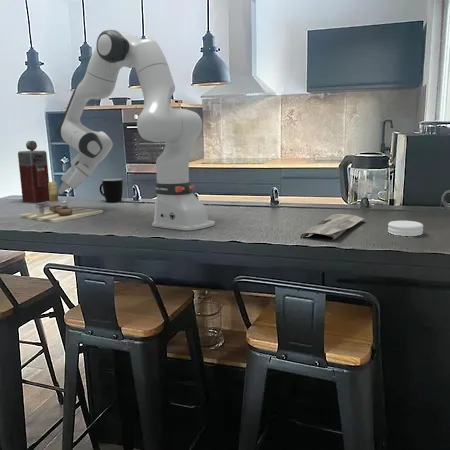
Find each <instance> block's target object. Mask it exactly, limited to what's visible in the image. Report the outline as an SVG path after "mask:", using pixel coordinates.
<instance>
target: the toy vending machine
mask: <svg viewBox="0 0 450 450" xmlns="http://www.w3.org/2000/svg"><path fill="white" fill-rule="evenodd" d="M25 146H26V149H27V150H22V151H21V150H20V151H18V153H17V158H18V168H19V170H18V171H19V179H20V187H21V197H22V203H27V202H28V204H39V203H46V202H50V198H49V187H48V182H50V177H49V164H48V158H47V157H48V154H47V151H46V150H36V149H37V148H38V147H37V146H38V144H37V142H36V141H34V140H28V141H27V142H26V144H25Z"/></svg>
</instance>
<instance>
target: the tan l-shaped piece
mask: <svg viewBox="0 0 450 450" xmlns="http://www.w3.org/2000/svg"><path fill="white" fill-rule="evenodd" d="M48 187H49V198H50V201H49V202H52V201H59V195H58V194H59V193H58V192H57V190H58V183H57V181H49V182H48ZM48 210H51V211H54V212H57V213H59V215H69V214H72V208H63V207H62V205H57V206H51V207H48Z"/></svg>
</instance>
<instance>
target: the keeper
mask: <svg viewBox="0 0 450 450" xmlns="http://www.w3.org/2000/svg"><path fill="white" fill-rule="evenodd" d="M69 201H70V200H58V201H52V202H50V201H46V202H40V203H34V205H35V212H36V215H37V216H44V211H45V208H49V207H51V206H57V205H61V206H62V207H63V208H68V204H69Z"/></svg>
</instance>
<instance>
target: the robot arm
mask: <svg viewBox="0 0 450 450" xmlns="http://www.w3.org/2000/svg"><path fill="white" fill-rule="evenodd" d="M123 67H125V68H128V69H135V73H136V76H137V78H138V81H139V85H140V88H141V92H142V97H143V108H142V111H141V112H140V114H139V115H138V117H137V121H136V128H137V131H138V134H139V136H140V137H141V138H142V139H143V140H146V141H150V142H154V143H165V146H164V149H163V151H162V153H161V154H160V155H159V156H157V159H156V162H155V167H156V168H155V169H156V183H155V193H156V199H155V201H154V213H153V215H154V216H153V222H152V224H151V226H152V227H155V228H163V229H170V230H179V231H196V230H201V229H206V228H210V227H213V226H215V225H216V222H215V220H214V221H213V220H210V219H209V215H208V209H207V207H206V205H205V204H204V203H202V202H201V200H200V199H198V197H197V196H195V194H194V191H193V190H195V185H194V184H193V185H191V182H190V176H189V175H190V174H189V173H190V169H189V168H190V155H191V152H192V147H193V145H194V143H195V141H196V139H197V138H198V137H199V136H201V135H200V134H201V133H202V131H203V121H202V118H201V117H200V115H199V114H198V113H197V112H195V111H193V110H189V109H186V108H173V107H172V105H171V97H172V96H173V95H174V93H175V92H176V86H175V82H174V79H173V76H172V73H171V70H170V67H169V64H168V62H167V58H166V57H165V54H164V52H163V49H162V48H161V46H160V45H159V43H158V42H157V41H156V40H154V39H153V38H152V39H151V38H143V37H138V36H137V35H134V34H131V33H128V32H124V31H118V30H115V29H107V30H104V31H102V32H101V33H100V34H99V35H98V36H97V40H96V47H95V48H94V50H93V52H92V54H91V57H90V59H89V62H88V64H87V68H86V71H85V74H84V76H83V78H82V80H81V81H80V82H78V83H77V84H76V85H75V88H74V90H73V92H72V94H71V96H70V99H69V101H68V103H67V104H68V105H67V106H66V109H65V112H64V114H63V116H62V118H61V120H60V121H59V122H58V124H57V126H56V136H57V138H58V139H59V140H60V141H62V142H63V143H65V144H67V145H68V146H70V147H71V148H73V149H74V150H75V151H77V152H78V153H77V154H76V156H74V157H73V159H72V160H71V161H70V164H71V166H70V167H69V168H68V169H67V170H66V171H65V172H64V174H63V175H62V176H61V177H60V180H61V181H62V183H61V185H60V186H59V188H57V192H58V194H60V195H63V193H64V192H65V191H67V190H68V189H70V188H71V189H72V190H75V189H77V188H78V187H79V186H80V185H81V184H82V183H83V182H85V180H86V179H87V178H89V177H91V176H92V175H93V172H94V170H96V168H97V167H98V165H99V164H100V162H102V161H104V160H105V158H106V157H107V155H108V154H109V153H110V151H111V150H112V148H113V146H114V143H113V140H112V139H111V137H110V136H109V135H108V134H107V133H106V132H104V131H101V130H100V131H94V130H92V129H90V128H88V127H87V126H85V125H84V124H82V122H81V116H82V115H83V112H84V109H85V107H86V105H87V103H88V102H89V101H90V100H103V99H107V98H109V97H110V96H111V95H112V94H113V92H114V90H115V87H116V83H117V80H118V76H119V72H120V70H121V69H122V68H123Z"/></svg>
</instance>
